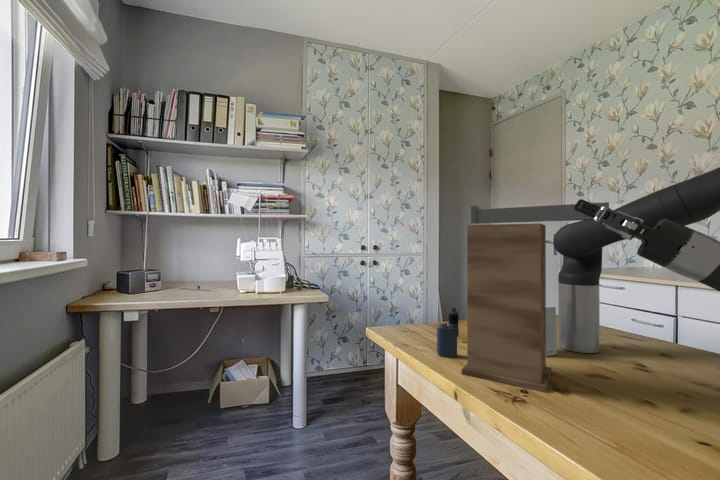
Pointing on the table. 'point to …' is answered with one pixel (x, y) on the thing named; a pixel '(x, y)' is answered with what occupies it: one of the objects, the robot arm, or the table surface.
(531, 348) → the stand
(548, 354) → the skincare box
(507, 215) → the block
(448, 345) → the vaping device
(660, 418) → the table surface
